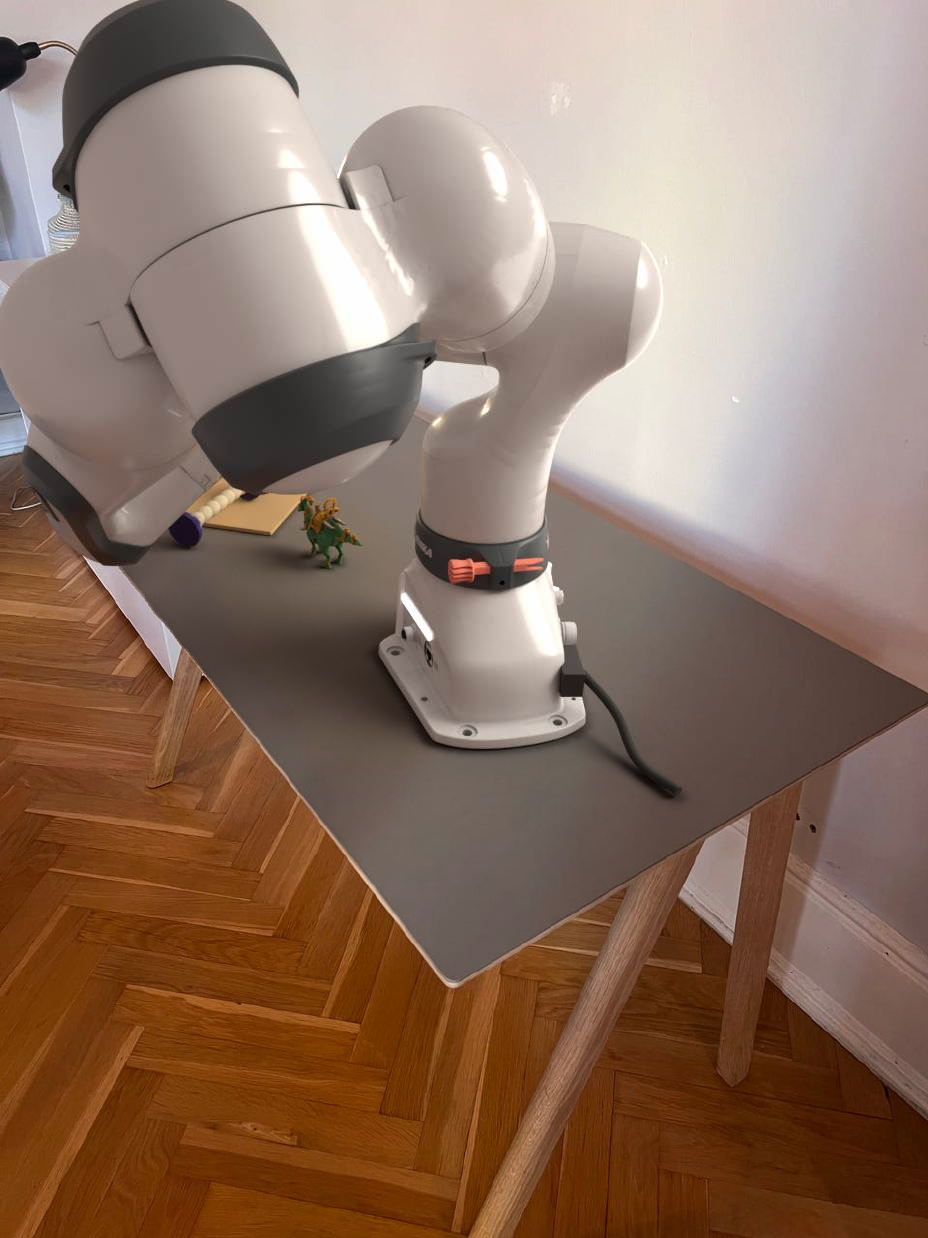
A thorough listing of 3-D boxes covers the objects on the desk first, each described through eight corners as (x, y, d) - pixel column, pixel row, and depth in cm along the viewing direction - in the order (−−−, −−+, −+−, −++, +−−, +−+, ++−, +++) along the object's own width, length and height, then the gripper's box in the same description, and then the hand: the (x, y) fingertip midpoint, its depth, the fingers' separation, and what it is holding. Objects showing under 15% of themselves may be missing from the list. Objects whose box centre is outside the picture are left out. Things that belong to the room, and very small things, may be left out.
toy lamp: (207, 548, 103) (280, 488, 116) (197, 511, 101) (272, 454, 114) (172, 546, 105) (247, 487, 118) (161, 509, 102) (239, 453, 115)
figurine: (312, 539, 107) (308, 475, 102) (374, 580, 100) (373, 512, 95) (289, 547, 105) (285, 481, 101) (351, 588, 98) (349, 520, 93)
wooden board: (271, 535, 107) (270, 531, 107) (176, 522, 109) (176, 518, 109) (350, 445, 132) (350, 441, 132) (272, 435, 134) (271, 432, 134)
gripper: (48, 436, 90) (116, 488, 103) (244, 460, 87) (287, 510, 100) (65, 378, 91) (129, 436, 105) (258, 399, 88) (299, 457, 102)
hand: (208, 473), depth 102 cm, fingers closed
